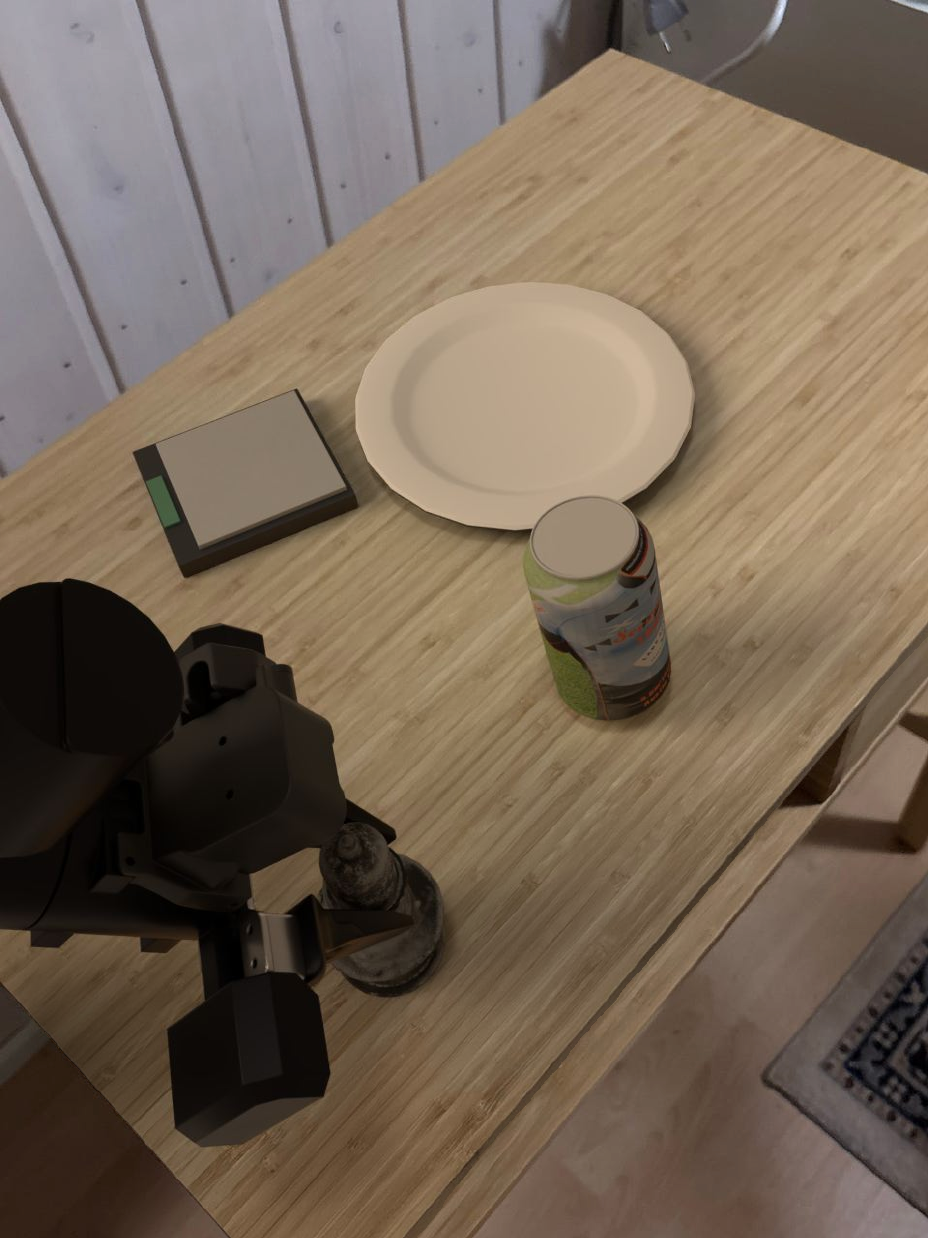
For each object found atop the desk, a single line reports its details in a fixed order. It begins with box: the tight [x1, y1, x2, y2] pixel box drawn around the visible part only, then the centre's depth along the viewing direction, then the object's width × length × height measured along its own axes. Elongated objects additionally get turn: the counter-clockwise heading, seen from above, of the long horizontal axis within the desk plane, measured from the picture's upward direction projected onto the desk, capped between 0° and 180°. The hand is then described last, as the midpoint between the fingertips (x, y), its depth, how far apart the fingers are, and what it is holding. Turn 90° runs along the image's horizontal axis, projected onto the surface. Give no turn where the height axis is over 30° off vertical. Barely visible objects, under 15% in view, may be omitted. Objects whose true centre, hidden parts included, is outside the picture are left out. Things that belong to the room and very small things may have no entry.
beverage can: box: [522, 495, 672, 722], centre depth 55 cm, size 6×7×12 cm
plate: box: [354, 281, 696, 533], centre depth 71 cm, size 21×21×2 cm
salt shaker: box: [316, 822, 446, 998], centre depth 49 cm, size 6×6×12 cm
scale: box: [132, 387, 359, 579], centre depth 69 cm, size 11×10×2 cm
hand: (399, 881), depth 48 cm, fingers closed on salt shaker, 3 cm apart
